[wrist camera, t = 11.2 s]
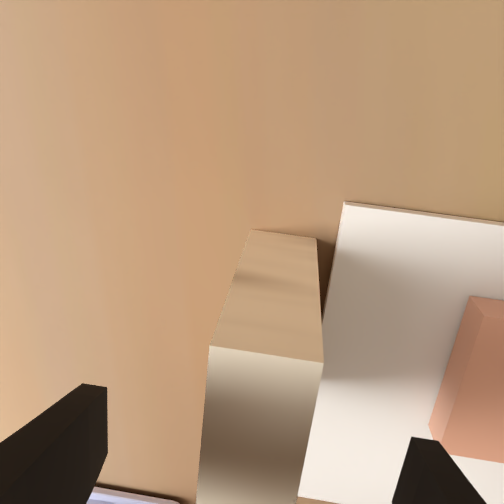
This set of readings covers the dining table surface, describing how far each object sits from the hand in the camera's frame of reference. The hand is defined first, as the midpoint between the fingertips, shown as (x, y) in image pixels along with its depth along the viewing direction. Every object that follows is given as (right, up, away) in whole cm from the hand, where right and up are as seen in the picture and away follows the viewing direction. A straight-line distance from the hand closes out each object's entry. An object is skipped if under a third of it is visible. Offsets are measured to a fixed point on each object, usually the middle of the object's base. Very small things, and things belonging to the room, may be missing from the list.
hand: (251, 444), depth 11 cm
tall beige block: (+1, +2, +8) cm, 8 cm away
